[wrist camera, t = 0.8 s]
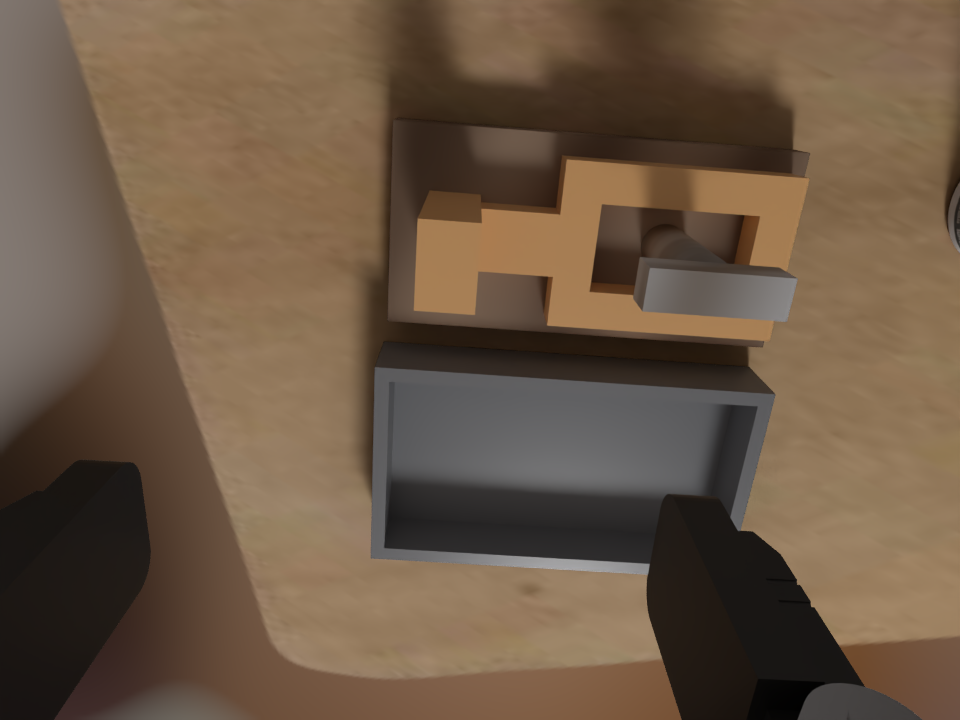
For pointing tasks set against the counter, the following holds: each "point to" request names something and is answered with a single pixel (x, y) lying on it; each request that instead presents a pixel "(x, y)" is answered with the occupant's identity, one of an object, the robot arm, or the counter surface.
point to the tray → (552, 453)
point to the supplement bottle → (955, 218)
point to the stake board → (621, 234)
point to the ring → (573, 236)
